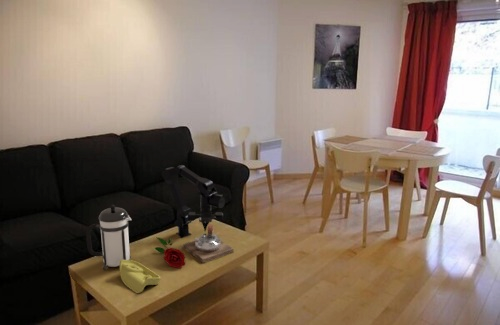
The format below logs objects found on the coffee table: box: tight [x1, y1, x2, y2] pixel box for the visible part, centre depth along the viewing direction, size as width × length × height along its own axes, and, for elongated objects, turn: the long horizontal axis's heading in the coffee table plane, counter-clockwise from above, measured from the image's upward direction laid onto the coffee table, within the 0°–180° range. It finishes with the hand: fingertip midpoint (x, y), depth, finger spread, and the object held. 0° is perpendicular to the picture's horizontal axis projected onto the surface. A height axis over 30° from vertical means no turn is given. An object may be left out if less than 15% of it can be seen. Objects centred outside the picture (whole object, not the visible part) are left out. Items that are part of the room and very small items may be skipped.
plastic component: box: [119, 259, 162, 294], centre depth 165 cm, size 20×7×10 cm
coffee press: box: [85, 204, 132, 271], centre depth 175 cm, size 17×16×30 cm
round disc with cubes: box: [194, 223, 222, 252], centre depth 196 cm, size 18×13×7 cm
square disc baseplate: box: [182, 240, 235, 264], centre depth 194 cm, size 20×18×2 cm
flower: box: [154, 236, 186, 269], centre depth 186 cm, size 9×10×30 cm
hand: (205, 231), depth 202 cm, fingers closed
